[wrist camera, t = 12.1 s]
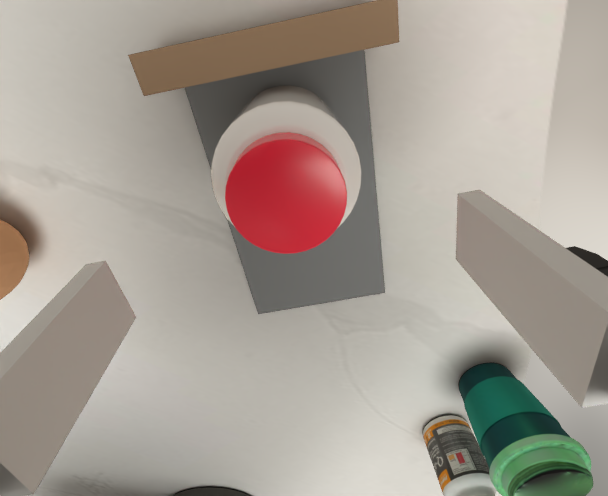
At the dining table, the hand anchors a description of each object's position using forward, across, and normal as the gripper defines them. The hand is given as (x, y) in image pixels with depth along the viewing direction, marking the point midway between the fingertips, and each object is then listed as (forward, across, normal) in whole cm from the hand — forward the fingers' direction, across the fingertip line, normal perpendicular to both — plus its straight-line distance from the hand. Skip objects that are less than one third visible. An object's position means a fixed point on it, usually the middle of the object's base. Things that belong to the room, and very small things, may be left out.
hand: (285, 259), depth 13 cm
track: (+15, 0, -4) cm, 15 cm away
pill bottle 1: (+15, 0, +1) cm, 15 cm away
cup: (+15, +16, -28) cm, 36 cm away
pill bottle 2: (+16, +12, -37) cm, 42 cm away
